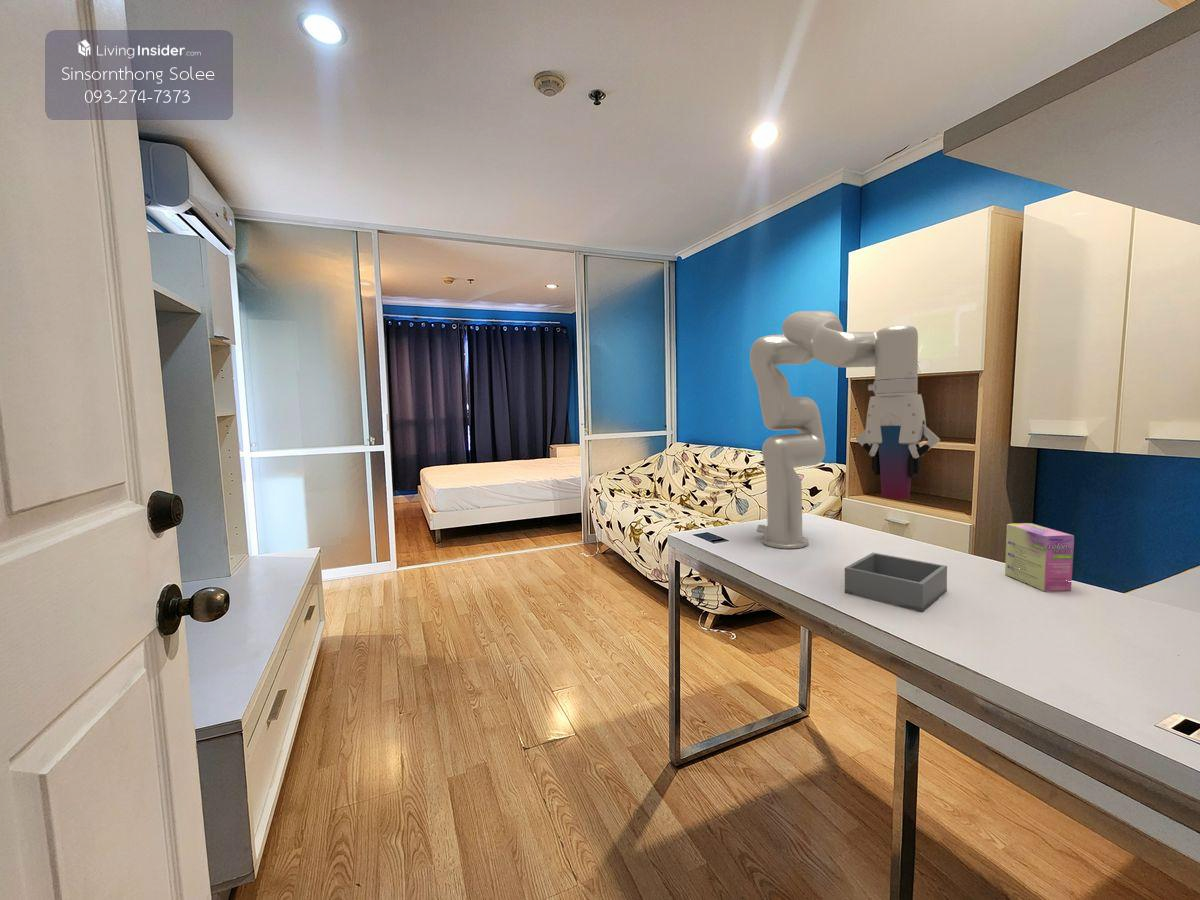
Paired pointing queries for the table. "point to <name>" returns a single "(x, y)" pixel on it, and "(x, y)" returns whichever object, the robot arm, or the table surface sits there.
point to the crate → (896, 581)
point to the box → (1039, 556)
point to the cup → (894, 464)
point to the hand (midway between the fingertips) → (895, 474)
